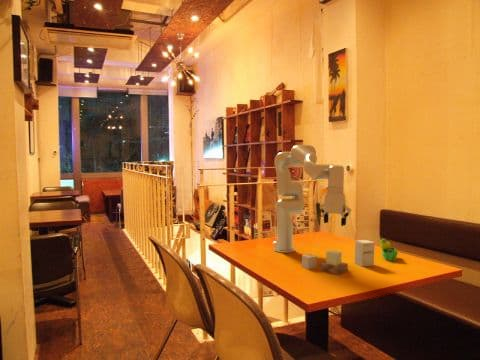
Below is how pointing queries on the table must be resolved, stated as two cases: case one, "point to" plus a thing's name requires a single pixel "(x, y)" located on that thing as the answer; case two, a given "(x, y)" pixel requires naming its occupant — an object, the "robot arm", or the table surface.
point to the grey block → (309, 261)
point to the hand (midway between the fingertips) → (334, 224)
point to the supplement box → (364, 252)
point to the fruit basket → (388, 250)
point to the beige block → (333, 257)
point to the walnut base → (334, 268)
